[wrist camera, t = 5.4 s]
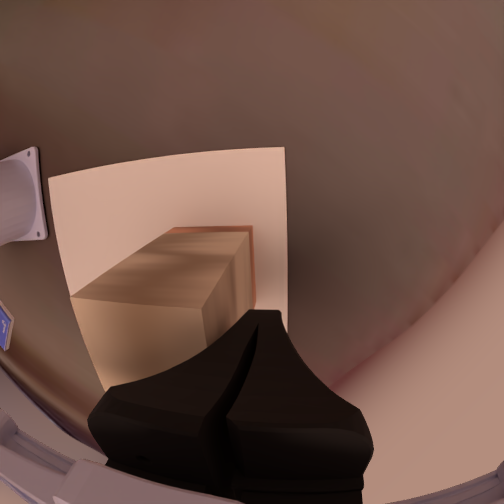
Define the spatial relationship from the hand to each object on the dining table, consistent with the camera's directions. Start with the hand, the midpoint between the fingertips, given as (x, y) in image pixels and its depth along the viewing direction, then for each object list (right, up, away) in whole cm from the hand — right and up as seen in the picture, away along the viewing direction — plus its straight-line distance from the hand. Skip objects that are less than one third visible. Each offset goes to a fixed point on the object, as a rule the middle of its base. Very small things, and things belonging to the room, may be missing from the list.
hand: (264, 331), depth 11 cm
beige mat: (-7, +2, +9) cm, 11 cm away
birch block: (-3, +2, +7) cm, 8 cm away
